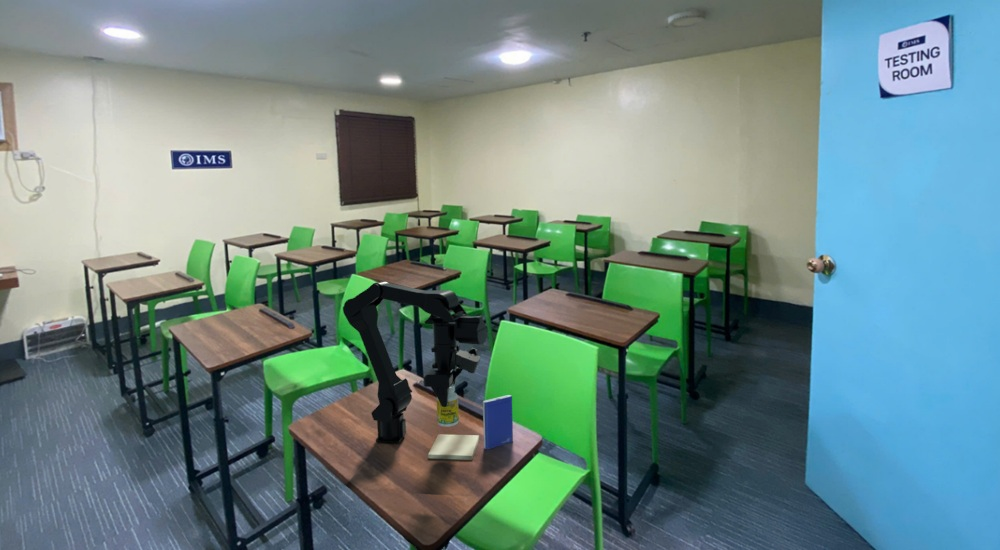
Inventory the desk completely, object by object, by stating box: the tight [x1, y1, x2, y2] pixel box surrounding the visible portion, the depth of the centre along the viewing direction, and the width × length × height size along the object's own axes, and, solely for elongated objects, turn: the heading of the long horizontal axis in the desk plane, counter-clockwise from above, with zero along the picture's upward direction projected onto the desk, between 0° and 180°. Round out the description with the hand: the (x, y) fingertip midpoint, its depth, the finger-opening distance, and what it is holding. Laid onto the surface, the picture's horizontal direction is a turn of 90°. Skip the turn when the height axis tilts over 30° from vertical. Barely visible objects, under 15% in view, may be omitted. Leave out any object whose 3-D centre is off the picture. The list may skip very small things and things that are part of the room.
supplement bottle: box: [436, 384, 460, 428], centre depth 118 cm, size 5×5×10 cm
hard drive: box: [482, 394, 514, 450], centre depth 122 cm, size 2×8×12 cm, turn 121°
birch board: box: [427, 433, 480, 461], centre depth 121 cm, size 11×11×2 cm
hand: (447, 402), depth 118 cm, fingers closed on supplement bottle, 5 cm apart
